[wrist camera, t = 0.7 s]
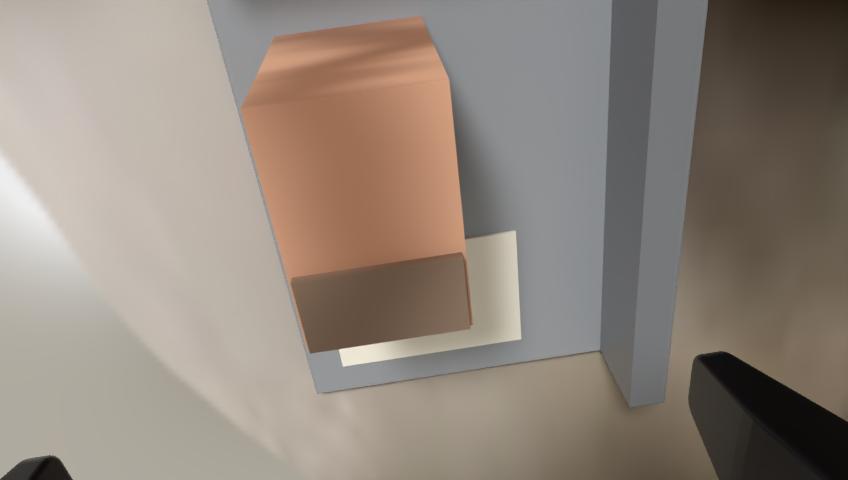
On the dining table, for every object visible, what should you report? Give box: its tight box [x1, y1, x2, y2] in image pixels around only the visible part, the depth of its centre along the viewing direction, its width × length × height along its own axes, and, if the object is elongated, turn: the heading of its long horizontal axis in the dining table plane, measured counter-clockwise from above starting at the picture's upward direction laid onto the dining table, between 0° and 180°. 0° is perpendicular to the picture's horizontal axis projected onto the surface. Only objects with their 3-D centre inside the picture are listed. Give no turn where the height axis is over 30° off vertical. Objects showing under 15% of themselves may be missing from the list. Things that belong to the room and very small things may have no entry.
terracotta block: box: [240, 16, 473, 354], centre depth 16 cm, size 4×6×6 cm, turn 7°
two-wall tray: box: [207, 0, 708, 408], centre depth 18 cm, size 12×18×3 cm, turn 7°
